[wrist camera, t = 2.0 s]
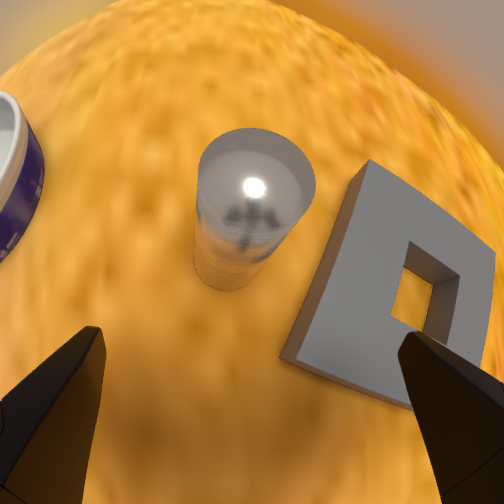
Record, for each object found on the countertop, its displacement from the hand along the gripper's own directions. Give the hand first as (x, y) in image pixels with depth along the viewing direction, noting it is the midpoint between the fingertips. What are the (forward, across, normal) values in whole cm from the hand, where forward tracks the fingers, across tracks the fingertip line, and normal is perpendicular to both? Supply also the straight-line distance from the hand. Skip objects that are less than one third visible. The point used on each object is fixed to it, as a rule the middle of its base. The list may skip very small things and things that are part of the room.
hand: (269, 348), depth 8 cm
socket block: (+11, -14, +6) cm, 19 cm away
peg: (+13, 0, +4) cm, 14 cm away
